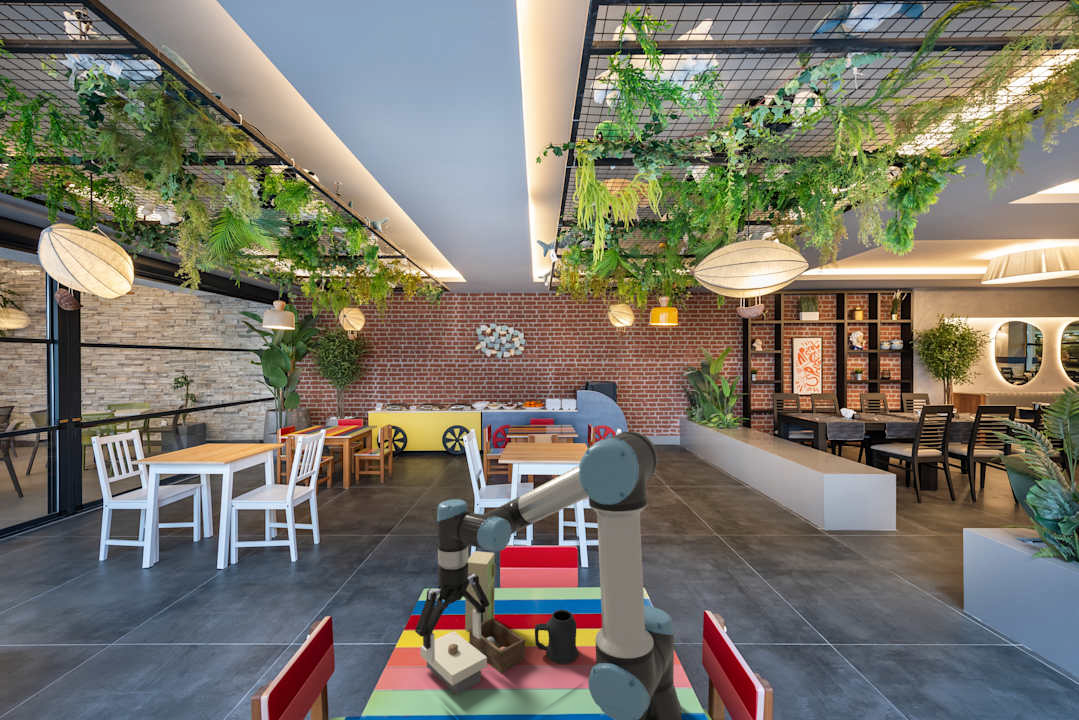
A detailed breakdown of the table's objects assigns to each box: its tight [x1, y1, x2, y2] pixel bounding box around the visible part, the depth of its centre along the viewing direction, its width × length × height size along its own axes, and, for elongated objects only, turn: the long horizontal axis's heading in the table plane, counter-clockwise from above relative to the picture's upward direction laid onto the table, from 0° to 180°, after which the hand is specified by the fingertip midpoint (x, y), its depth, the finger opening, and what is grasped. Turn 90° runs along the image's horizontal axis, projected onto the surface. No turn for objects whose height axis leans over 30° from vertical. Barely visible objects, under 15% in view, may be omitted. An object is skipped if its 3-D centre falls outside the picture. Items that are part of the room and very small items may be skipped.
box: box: [468, 618, 526, 674], centre depth 128 cm, size 14×8×6 cm, turn 43°
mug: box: [534, 609, 579, 665], centre depth 128 cm, size 12×9×11 cm
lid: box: [420, 630, 488, 686], centre depth 120 cm, size 15×10×4 cm, turn 43°
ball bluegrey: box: [486, 637, 495, 645], centre depth 130 cm, size 3×3×3 cm
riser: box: [426, 661, 482, 696], centre depth 120 cm, size 14×7×4 cm, turn 43°
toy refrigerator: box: [464, 550, 496, 632], centre depth 141 cm, size 8×7×21 cm
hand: (454, 647), depth 119 cm, fingers open, 13 cm apart
